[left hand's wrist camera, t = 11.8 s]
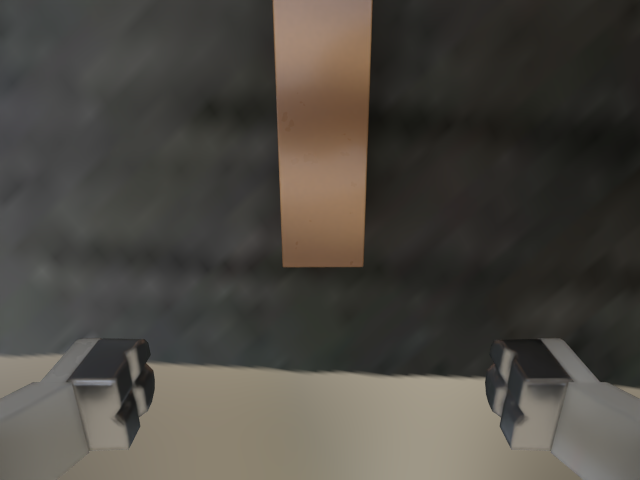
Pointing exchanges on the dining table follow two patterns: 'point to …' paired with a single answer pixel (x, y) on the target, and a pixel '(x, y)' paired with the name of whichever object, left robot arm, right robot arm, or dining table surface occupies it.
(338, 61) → the post
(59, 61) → the dining table surface
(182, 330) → the dining table surface
